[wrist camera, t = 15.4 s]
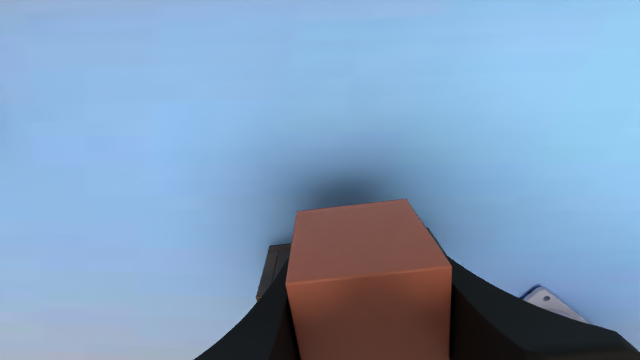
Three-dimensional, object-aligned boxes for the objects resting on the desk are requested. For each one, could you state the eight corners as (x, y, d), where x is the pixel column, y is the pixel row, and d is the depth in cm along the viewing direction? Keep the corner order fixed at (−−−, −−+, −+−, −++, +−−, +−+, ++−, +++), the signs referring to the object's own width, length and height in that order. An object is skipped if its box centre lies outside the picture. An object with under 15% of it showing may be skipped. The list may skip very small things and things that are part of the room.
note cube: (296, 210, 14) (284, 283, 9) (406, 197, 14) (453, 266, 9) (310, 298, 15) (307, 398, 11) (408, 288, 15) (449, 385, 11)
